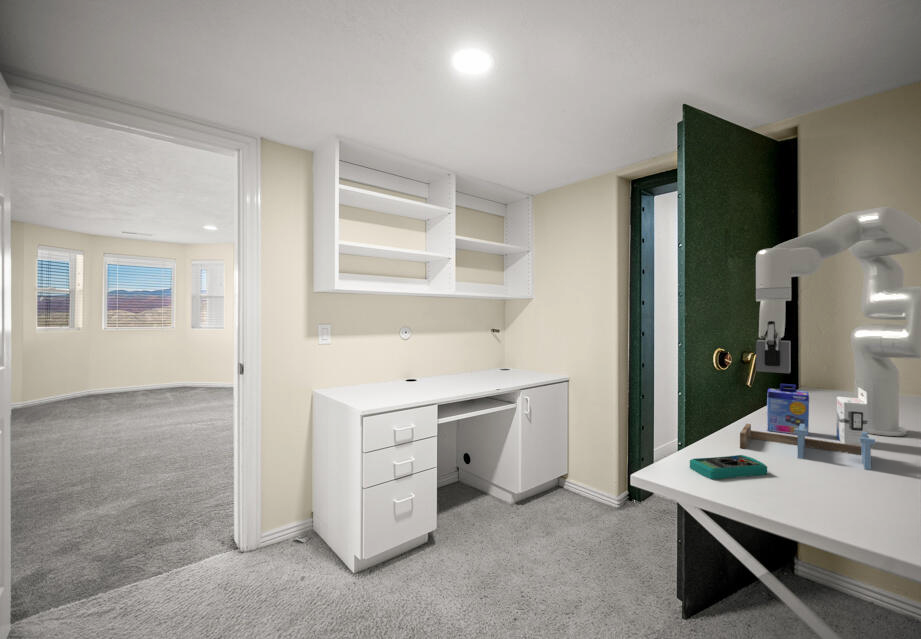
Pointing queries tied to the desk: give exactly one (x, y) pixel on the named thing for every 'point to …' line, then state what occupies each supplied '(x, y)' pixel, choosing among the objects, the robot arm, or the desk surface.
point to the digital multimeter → (728, 467)
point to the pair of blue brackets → (864, 440)
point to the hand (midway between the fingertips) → (773, 363)
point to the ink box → (852, 418)
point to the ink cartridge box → (787, 409)
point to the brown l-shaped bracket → (794, 441)
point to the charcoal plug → (784, 357)
